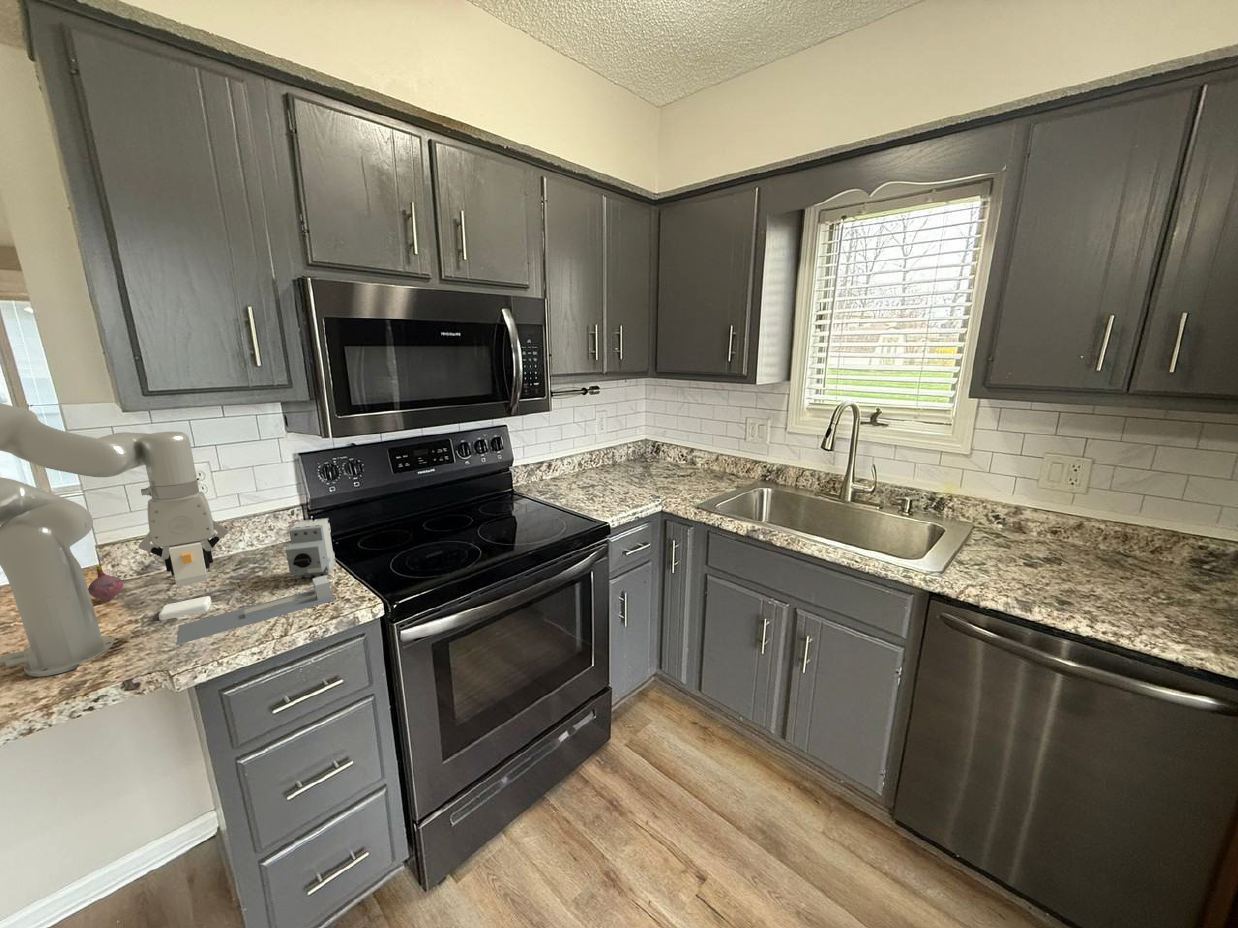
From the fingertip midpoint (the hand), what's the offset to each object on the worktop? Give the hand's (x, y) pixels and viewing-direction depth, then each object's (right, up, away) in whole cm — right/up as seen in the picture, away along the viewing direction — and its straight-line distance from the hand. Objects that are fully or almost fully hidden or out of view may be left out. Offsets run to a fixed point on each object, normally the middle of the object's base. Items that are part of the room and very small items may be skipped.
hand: (191, 569), depth 108 cm
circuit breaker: (+9, -9, +29) cm, 32 cm away
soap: (-10, -14, +11) cm, 21 cm away
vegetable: (-37, -12, +18) cm, 43 cm away
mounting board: (+9, -13, +10) cm, 18 cm away
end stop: (+19, -10, +17) cm, 27 cm away
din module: (0, -2, 0) cm, 2 cm away
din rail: (+12, -12, +12) cm, 21 cm away
